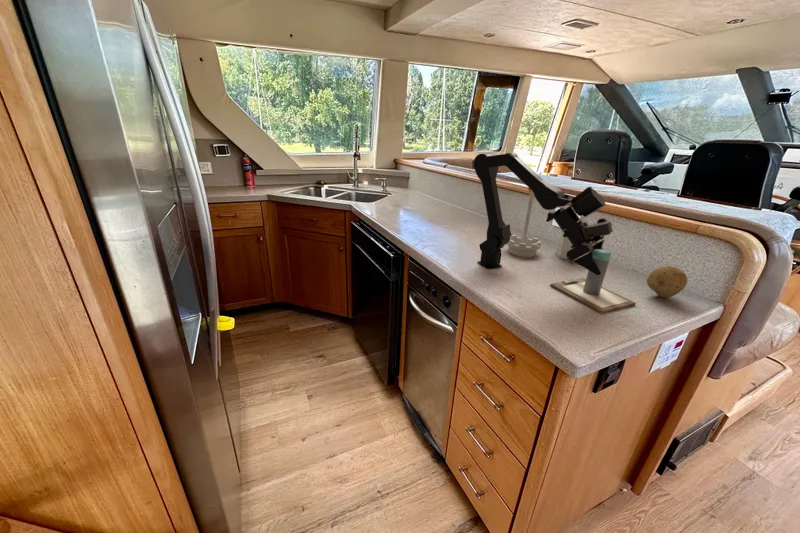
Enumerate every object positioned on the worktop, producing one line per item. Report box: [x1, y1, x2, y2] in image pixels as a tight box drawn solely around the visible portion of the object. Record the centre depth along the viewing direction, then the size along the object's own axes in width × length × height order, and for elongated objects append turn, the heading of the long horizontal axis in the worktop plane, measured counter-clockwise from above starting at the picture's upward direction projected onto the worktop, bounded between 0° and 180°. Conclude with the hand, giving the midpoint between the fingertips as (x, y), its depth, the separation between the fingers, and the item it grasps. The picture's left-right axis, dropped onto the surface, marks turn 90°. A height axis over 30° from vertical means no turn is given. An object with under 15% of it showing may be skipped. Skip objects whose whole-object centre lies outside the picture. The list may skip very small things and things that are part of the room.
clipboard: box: [549, 277, 636, 314], centre depth 99 cm, size 14×18×1 cm
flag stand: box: [506, 187, 542, 258], centre depth 128 cm, size 13×13×30 cm
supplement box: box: [554, 228, 572, 260], centre depth 128 cm, size 7×7×13 cm
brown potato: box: [646, 265, 688, 299], centre depth 97 cm, size 9×9×10 cm
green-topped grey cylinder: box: [583, 249, 612, 295], centre depth 96 cm, size 4×4×13 cm
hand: (603, 269), depth 95 cm, fingers open, 9 cm apart
